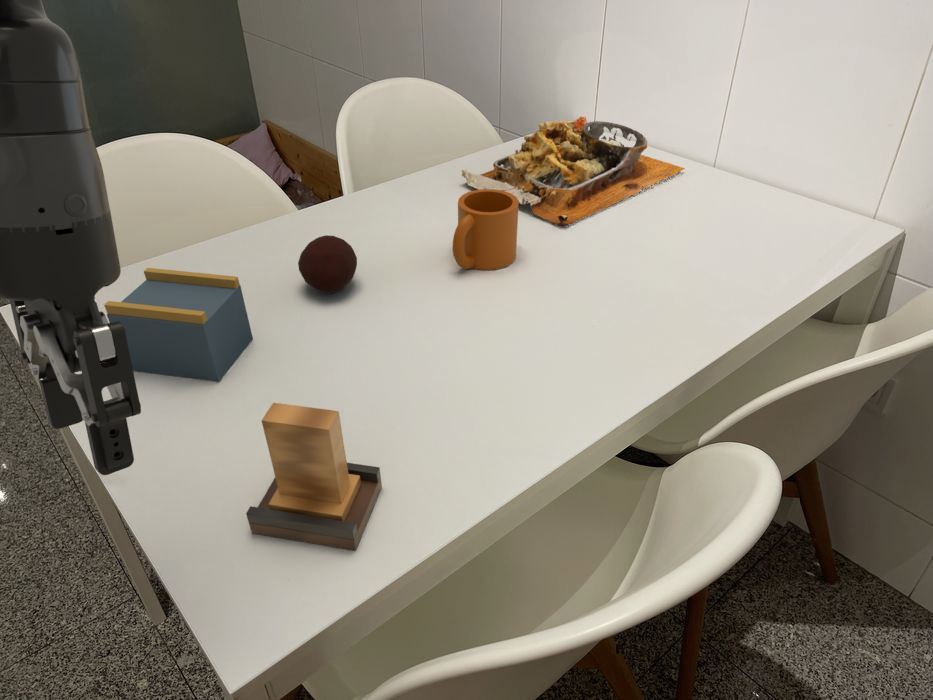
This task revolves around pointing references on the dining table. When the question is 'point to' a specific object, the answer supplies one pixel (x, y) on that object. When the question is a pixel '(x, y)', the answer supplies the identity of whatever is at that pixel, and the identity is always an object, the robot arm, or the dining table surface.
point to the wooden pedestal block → (309, 462)
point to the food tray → (573, 170)
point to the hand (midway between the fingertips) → (90, 445)
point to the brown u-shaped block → (317, 527)
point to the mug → (486, 230)
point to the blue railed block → (184, 324)
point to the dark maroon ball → (328, 264)
